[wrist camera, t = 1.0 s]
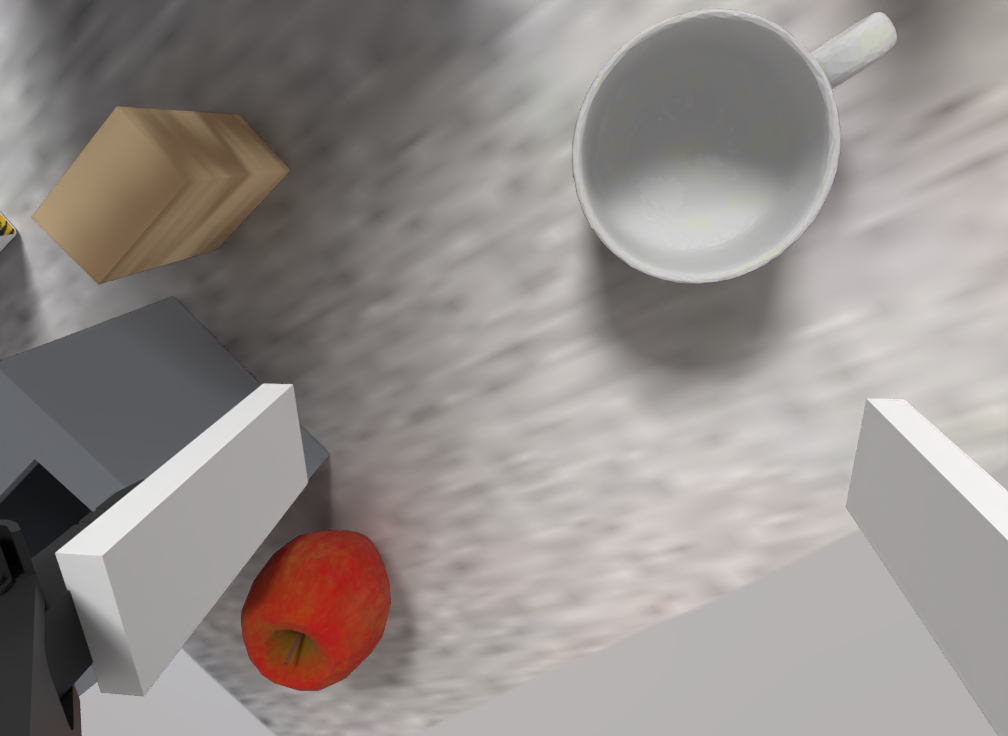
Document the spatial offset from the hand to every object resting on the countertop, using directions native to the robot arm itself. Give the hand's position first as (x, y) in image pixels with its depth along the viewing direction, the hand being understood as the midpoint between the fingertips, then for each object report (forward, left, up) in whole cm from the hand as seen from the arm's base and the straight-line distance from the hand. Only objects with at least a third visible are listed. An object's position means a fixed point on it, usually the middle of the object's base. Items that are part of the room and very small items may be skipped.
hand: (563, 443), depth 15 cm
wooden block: (-17, -13, -23) cm, 31 cm away
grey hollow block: (-8, -28, -23) cm, 37 cm away
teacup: (-1, +9, -23) cm, 25 cm away
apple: (+5, -25, -23) cm, 34 cm away
